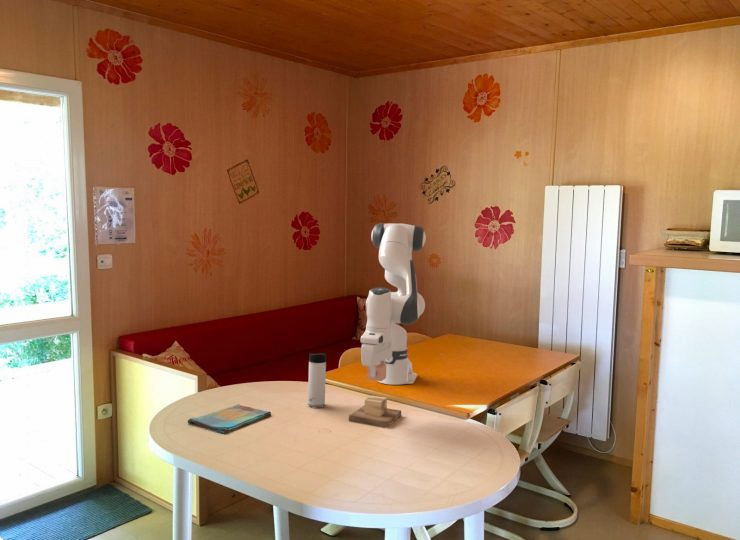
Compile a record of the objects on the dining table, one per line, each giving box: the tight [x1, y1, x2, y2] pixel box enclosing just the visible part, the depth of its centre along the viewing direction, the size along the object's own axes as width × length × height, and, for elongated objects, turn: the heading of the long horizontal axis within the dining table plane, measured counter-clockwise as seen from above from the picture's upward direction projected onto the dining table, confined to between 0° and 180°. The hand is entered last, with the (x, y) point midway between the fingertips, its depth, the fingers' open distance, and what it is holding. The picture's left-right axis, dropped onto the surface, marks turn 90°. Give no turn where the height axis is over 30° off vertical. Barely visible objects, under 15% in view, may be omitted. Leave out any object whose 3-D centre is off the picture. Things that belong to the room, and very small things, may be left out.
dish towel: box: [187, 403, 272, 435], centre depth 202 cm, size 17×23×2 cm
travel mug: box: [307, 352, 327, 408], centre depth 220 cm, size 6×7×20 cm
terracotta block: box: [366, 363, 386, 382], centre depth 207 cm, size 5×5×5 cm
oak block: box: [364, 395, 388, 416], centre depth 208 cm, size 6×6×5 cm
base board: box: [348, 404, 402, 428], centre depth 208 cm, size 14×14×2 cm
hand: (377, 374), depth 207 cm, fingers closed on terracotta block, 5 cm apart
